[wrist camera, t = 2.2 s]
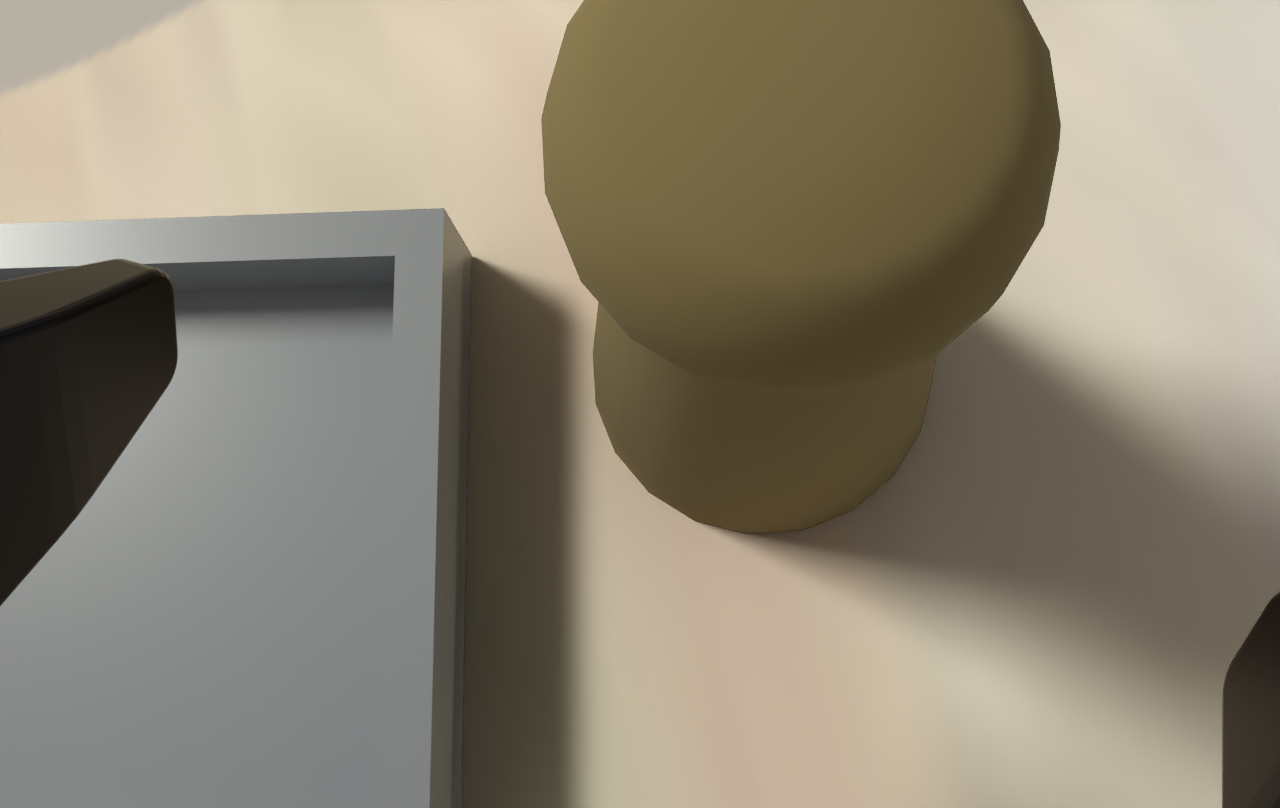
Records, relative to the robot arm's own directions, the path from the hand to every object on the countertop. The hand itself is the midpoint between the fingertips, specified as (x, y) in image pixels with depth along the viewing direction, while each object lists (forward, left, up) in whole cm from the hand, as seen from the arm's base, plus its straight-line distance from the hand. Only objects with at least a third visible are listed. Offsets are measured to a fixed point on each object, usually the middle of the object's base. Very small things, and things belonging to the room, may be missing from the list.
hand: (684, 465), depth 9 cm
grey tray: (+1, +9, -11) cm, 15 cm away
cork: (+4, -1, -12) cm, 12 cm away
